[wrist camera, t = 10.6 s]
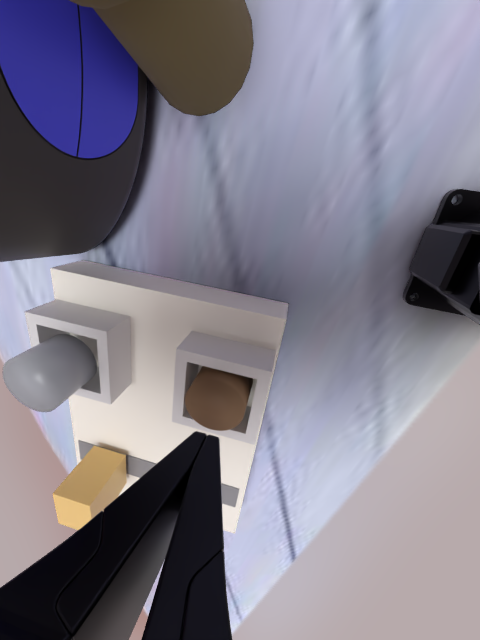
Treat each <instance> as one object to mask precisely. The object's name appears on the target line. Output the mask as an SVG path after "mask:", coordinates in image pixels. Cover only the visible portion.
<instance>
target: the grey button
mask: <svg viewBox="0 0 480 640" xmlns="http://www.w3.org/2000/svg"><path fill="white" fill-rule="evenodd" d="M96 370H97V363H96V359H95V357H94V355H93V353H92V351H91V350H90V348H89V347H88V346H87V345H86V344H85V343H84V342H83V341H81V340H80V339H78V338H76V337H74V336H72V335H68V334H58V335H55V336H53V337H51V338H49V339H48V340H46V341H44V342H42V343H40V344H38V345H36V346H34V347H32V348H31V349H29V350H27V351H25V352H23V353H21V354H19V355H17V356H15V357H13V358H12V359H10V360H8V361H7V362H6V363H5V364H4V367H3V379H4V382H5V384H6V386H7V388H8V389H9V391H10V392H11V394H12V395H13V396H14V397H15V398H16V399H17V400H18V401H19V402H21V403H22V404H23V405H25V406H27V407H28V408H30V409H33V410H35V411H39V412H50V411H52V410H54V409H56V408H57V407H58V406H59V405H60V404H62V403H63V402H64V401H65V400H66V399H68V398H69V397H70V396H71V395H72V394H74V393H75V392H76V391H77V390H79V389H80V388H81V387H82V386H83V385H85V384H86V383H87V382H88V381H89V380H91V379H92V378H93V377H94V376H95V374H96Z"/></svg>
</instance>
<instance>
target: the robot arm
mask: <svg viewBox="0 0 480 640" xmlns="http://www.w3.org/2000/svg"><path fill="white" fill-rule="evenodd" d="M455 195H457V196H458V197H459V199H458V202H457V203H456V204H452V202H451V200H452V198H453V196H455ZM409 270H410V272H411V277H410V279H409V282H408V284H407V286H406V289H405V291H404V294H403V299H404V300H405V301H406V302H407V303H408V304H410V305H415V306H420V307H425V308H430V309H435V310H440V311H445V312H450V313H455V314H460V315H465V316H467V317H469V318H470V319H472V320H473V321H475V322H476V323H478V324H479V325H480V192H477V191H470V190H463V189H457V190H452V191H449V192H448V193H447V194H446V195H445V196H444V198H443V200H442V203H441V205H440V207H439V210H438V212H437V215H436V217H435V219H434V222H433V224H432V225H430V226H429V227H427V228H426V230H425V232H424V235H423V237H422V240H421V242H420V244H419V247H418V249H417V252H416V254H415V257H414V259H413V261H412V264H411V266H410V269H409ZM413 293H416V297H415V298H414V299H410V295H411V294H413ZM223 550H224V539H223V514H222V489H221V463H220V440H219V437H216V436H213V435H207V434H205V433H202V432H198V431H195V432H193V433H192V434H191V435H190V436H189V437H188V438H186V439H185V440H184V441H183V442H182V443H180V444H179V445H178V446H177V447H176V448H175V449H173V450H172V451H171V452H170V453H169V454H168V455H166V456H165V457H164V458H163V459H162V460H161V461H159V462H158V463H157V464H156V465H155V466H154V467H152V468H151V469H150V470H149V471H148V472H146V473H145V474H144V475H143V476H142V477H141V478H139V479H138V480H137V481H136V482H135V483H134V484H132V485H131V486H130V487H129V488H128V489H127V490H125V491H124V492H123V493H122V494H121V495H120V496H118V497H117V498H116V499H115V500H114V501H112V502H111V503H110V504H109V505H108V506H107V507H105V508H104V512H103V511H101V512H99V513H98V514H97V515H96V516H95V517H94V518H92V519H91V520H90V521H89V522H88V523H86V524H85V525H84V526H83V527H82V528H80V529H79V530H78V531H77V532H75V533H74V534H73V535H72V536H70V537H69V538H68V539H67V540H65V541H64V542H63V543H62V544H60V545H59V546H57V547H56V548H55V549H53V550H52V551H51V552H49V553H48V554H47V555H45V556H44V557H42V558H41V559H40V560H38V561H37V562H36V563H34V564H33V565H31V566H30V567H29V568H27V569H26V570H24V571H23V572H22V573H20V574H19V575H17V576H16V577H15V578H13V579H12V580H11V581H9V582H8V583H6V584H5V585H3V586H2V587H1V588H0V640H129V637H130V635H131V633H132V631H133V629H134V626H135V624H136V622H137V620H138V617H139V615H140V613H141V611H142V609H143V606H144V604H145V602H146V600H147V597H148V595H149V593H150V591H151V589H152V586H153V584H154V582H155V580H156V577H157V575H158V573H159V571H160V568H161V566H162V564H163V562H164V564H163V568H162V571H161V575H160V578H159V582H158V585H157V588H156V592H155V595H154V599H153V602H152V606H151V609H150V613H149V616H148V619H147V623H146V626H145V630H144V633H143V637H142V640H232V634H231V628H230V620H229V611H228V603H227V594H226V579H225V561H224V551H223ZM164 559H165V561H164Z"/></svg>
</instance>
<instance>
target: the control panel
mask: <svg viewBox="0 0 480 640" xmlns="http://www.w3.org/2000/svg"><path fill="white" fill-rule="evenodd" d="M50 269H51V277H52V284H53V291H54V298H55V300H54V301H51V302H49V303H46V304H43V305H41V306H38V307H36V308H33V309H30V310H28V311H25V317H26V322H27V327H28V332H29V338H30V343H31V348H32V347H34V346H36V345H38V344H40V343H42V342H44V341H46V340H48V339H49V338H51V337H53V336H55V335H58V334H68V335H72V336H74V337H76V338H78V339H80V340H81V341H83V342H84V343H85V344H86V345H87V346H88V347H89V348H90V350H91V351H92V353H93V355H94V357H95V359H96V363H97V370H96V374H95V376H94V377H93V378H92V379H91V380H89V381H88V382H87V383H86V384H85V385H83V386H82V387H81V388H80V389H79V390H77V391H76V392H75V393H74V394H72V395H71V396H70V397H69V398H68V399H69V406H70V413H71V420H72V427H73V435H74V442H75V449H76V456H77V463H78V464H79V463H80V461H81V460H82V459H83V458H84V457H85V456H86V454H87V453H88V452H89V451H90V450H91V449H92V447H93V446H97V447H101V448H104V449H107V450H111V451H114V452H117V453H120V454H124V455H126V478H127V483H126V485H125V486H124V488H123V489H122V491H121V492H120V494H119V496H120V495H121V494H122V493H123V492H124V491H125V490H127V489H128V488H129V487H130V486H131V485H132V484H134V483H135V482H136V481H137V480H138V479H139V478H141V477H142V476H143V475H144V474H145V473H146V472H148V471H149V470H150V469H151V468H152V467H154V466H155V465H156V464H157V463H158V462H159V461H161V460H162V459H163V458H164V457H165V456H166V455H168V454H169V453H170V452H171V451H172V450H173V449H175V448H176V447H177V446H178V445H179V444H180V443H182V442H183V441H184V440H185V439H186V438H188V437H189V436H190V435H191V434H192V433H193V432H195V431H198V432H202V433H205V434H207V435H213V436H216V437H219V440H220V463H221V489H222V514H223V530H226V531H229V532H232V533H235V531H236V527H237V523H238V519H239V515H240V510H241V506H242V502H243V498H244V494H245V490H246V486H247V481H248V477H249V473H250V469H251V465H252V461H253V457H254V453H255V448H256V444H257V440H258V436H259V432H260V428H261V424H262V419H263V415H264V411H265V407H266V403H267V399H268V395H269V390H270V386H271V382H272V378H273V374H274V370H275V366H276V362H277V357H278V353H279V349H280V345H281V341H282V337H283V333H284V328H285V324H286V320H287V313H288V305H289V303H285V302H280V301H275V300H270V299H266V298H261V297H256V296H251V295H247V294H242V293H237V292H232V291H227V290H223V289H218V288H213V287H208V286H204V285H199V284H194V283H189V282H185V281H180V280H175V279H170V278H166V277H161V276H156V275H151V274H147V273H142V272H137V271H132V270H128V269H123V268H118V267H113V266H109V265H104V264H99V263H94V262H90V261H85V260H81V261H77V262H73V263H69V264H65V265H61V266H57V267H53V268H50ZM202 366H206V367H210V368H214V369H218V370H222V371H226V372H230V373H234V374H238V375H242V376H246V377H250V378H253V384H252V388H251V392H250V395H249V399H248V403H247V406H246V410H245V414H244V417H243V419H242V421H241V423H240V424H239V425H238V426H236V427H234V428H233V429H230V430H225V431H216V430H211V429H208V428H206V427H203V426H202V425H200V424H199V423H197V422H196V421H195V420H194V419H193V418H192V417H191V416H190V414H189V413H188V411H187V409H186V406H185V396H186V393H187V391H188V389H189V388H190V386H191V384H192V383H193V381H194V379H195V378H196V376H197V374H198V373H199V371H200V370H201V368H202Z"/></svg>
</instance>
